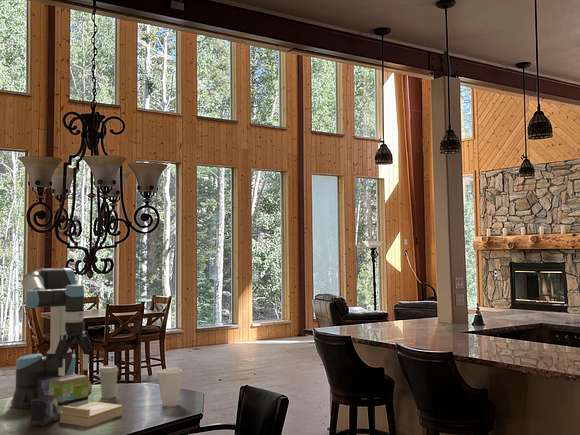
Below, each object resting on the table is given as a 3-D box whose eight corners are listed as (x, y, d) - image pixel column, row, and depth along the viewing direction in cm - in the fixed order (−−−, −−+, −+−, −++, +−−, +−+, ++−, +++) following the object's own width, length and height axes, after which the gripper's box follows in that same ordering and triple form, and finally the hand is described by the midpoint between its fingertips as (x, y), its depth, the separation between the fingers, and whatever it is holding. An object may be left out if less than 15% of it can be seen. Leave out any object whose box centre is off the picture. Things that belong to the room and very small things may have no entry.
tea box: (61, 414, 276) (62, 380, 277) (47, 411, 281) (48, 378, 282) (89, 407, 289) (89, 375, 290) (74, 404, 294) (75, 373, 295)
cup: (168, 400, 299) (168, 367, 300) (187, 403, 293) (187, 369, 294) (151, 406, 289) (151, 371, 290) (171, 409, 283) (171, 374, 284)
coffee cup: (122, 396, 310) (122, 366, 311) (107, 400, 302) (107, 369, 303) (109, 394, 315) (109, 364, 316) (94, 397, 307) (94, 367, 308)
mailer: (60, 422, 263) (60, 414, 263) (94, 411, 281) (94, 403, 281) (88, 426, 256) (88, 418, 256) (121, 415, 273) (121, 407, 274)
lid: (59, 413, 263) (59, 406, 263) (94, 402, 281) (94, 396, 281) (88, 417, 255) (88, 410, 256) (122, 406, 274) (122, 399, 274)
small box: (44, 426, 257) (44, 400, 257) (30, 425, 258) (30, 400, 259) (58, 419, 267) (58, 395, 268) (44, 419, 269) (45, 394, 269)
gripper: (58, 324, 248) (57, 378, 246) (102, 318, 270) (101, 368, 269) (44, 324, 251) (44, 377, 249) (88, 318, 273) (88, 366, 272)
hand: (73, 372), depth 259 cm, fingers open, 13 cm apart
